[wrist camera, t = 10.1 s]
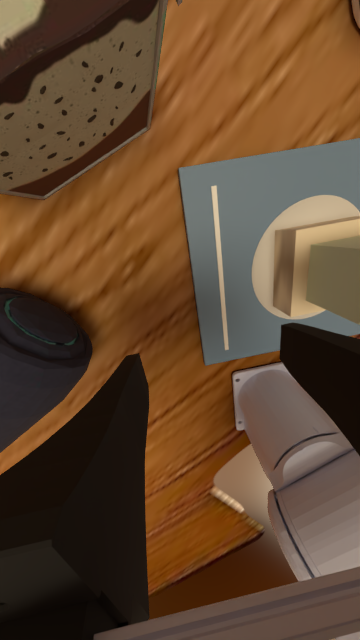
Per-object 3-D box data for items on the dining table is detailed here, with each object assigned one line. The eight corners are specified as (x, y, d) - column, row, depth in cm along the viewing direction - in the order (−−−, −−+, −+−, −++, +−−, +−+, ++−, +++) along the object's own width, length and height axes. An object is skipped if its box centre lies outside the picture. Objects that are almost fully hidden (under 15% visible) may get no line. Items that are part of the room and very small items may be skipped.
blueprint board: (388, 324, 24) (425, 339, 21) (204, 362, 23) (212, 383, 20) (444, 126, 17) (515, 100, 13) (177, 170, 16) (184, 154, 13)
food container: (115, -7, 12) (-4, -736, 3) (168, 116, 15) (192, -78, 5) (-45, 116, 13) (-478, -135, 4) (28, 210, 16) (-145, 181, 7)
